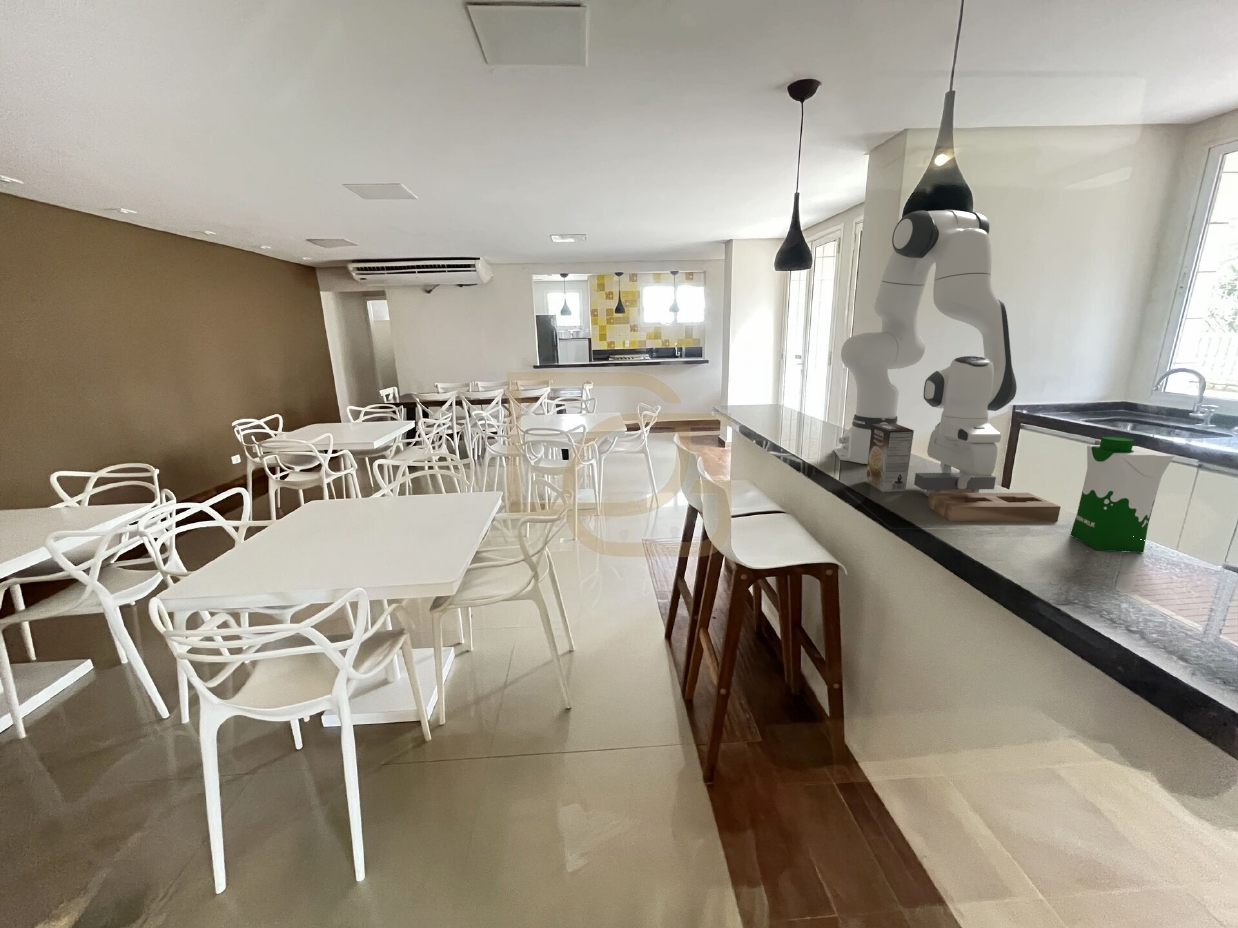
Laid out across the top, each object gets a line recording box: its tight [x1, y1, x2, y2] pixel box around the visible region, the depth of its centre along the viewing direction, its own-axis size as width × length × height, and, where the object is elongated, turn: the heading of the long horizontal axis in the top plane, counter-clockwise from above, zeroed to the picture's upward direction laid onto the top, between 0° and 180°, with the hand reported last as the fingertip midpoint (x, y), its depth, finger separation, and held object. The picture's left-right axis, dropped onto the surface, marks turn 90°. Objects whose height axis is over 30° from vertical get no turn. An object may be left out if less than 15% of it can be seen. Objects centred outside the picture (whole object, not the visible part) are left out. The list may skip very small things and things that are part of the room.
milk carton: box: [1070, 435, 1174, 554], centre depth 86 cm, size 9×9×20 cm
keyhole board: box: [926, 492, 1061, 522], centre depth 103 cm, size 9×21×4 cm, turn 85°
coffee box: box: [865, 423, 915, 493], centre depth 122 cm, size 9×6×16 cm
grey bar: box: [913, 472, 997, 497], centre depth 115 cm, size 4×16×6 cm, turn 85°
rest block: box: [935, 489, 972, 493], centre depth 115 cm, size 3×7×2 cm, turn 85°
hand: (953, 484), depth 115 cm, fingers closed on grey bar, 4 cm apart
